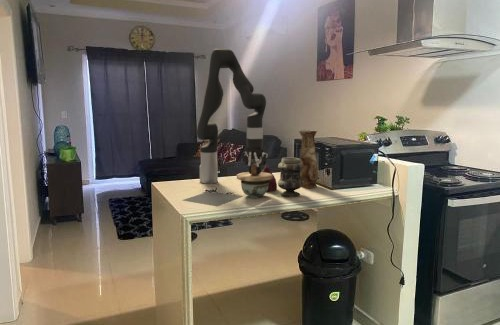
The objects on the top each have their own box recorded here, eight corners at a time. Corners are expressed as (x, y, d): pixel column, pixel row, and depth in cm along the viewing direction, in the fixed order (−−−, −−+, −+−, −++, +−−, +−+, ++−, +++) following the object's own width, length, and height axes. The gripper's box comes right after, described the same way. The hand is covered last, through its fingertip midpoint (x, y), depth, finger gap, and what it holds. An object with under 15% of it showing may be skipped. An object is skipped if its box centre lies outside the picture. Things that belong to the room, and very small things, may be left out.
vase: (318, 188, 199) (319, 130, 194) (297, 188, 200) (298, 130, 195) (317, 184, 209) (318, 129, 204) (297, 184, 210) (298, 129, 205)
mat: (182, 201, 175) (182, 200, 175) (208, 192, 192) (208, 191, 192) (217, 207, 164) (217, 206, 164) (242, 197, 181) (242, 196, 181)
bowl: (234, 198, 180) (234, 181, 178) (251, 192, 191) (251, 177, 189) (259, 202, 172) (259, 185, 171) (274, 196, 183) (274, 180, 182)
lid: (229, 179, 177) (229, 165, 176) (248, 173, 191) (248, 160, 190) (261, 182, 168) (261, 169, 167) (279, 176, 182) (279, 163, 182)
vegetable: (274, 198, 192) (277, 171, 186) (254, 194, 194) (256, 168, 188) (278, 188, 202) (280, 163, 195) (258, 185, 203) (261, 159, 197)
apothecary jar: (303, 192, 190) (304, 156, 188) (301, 198, 179) (301, 160, 176) (279, 191, 193) (279, 156, 190) (275, 197, 182) (275, 159, 179)
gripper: (237, 137, 177) (237, 174, 180) (264, 138, 170) (263, 177, 173) (246, 136, 184) (246, 171, 186) (272, 137, 176) (271, 174, 179)
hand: (254, 173), depth 179 cm, fingers closed on lid, 3 cm apart
